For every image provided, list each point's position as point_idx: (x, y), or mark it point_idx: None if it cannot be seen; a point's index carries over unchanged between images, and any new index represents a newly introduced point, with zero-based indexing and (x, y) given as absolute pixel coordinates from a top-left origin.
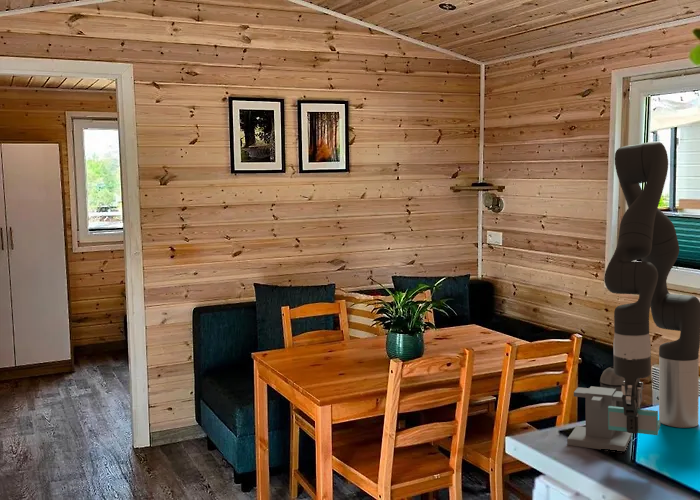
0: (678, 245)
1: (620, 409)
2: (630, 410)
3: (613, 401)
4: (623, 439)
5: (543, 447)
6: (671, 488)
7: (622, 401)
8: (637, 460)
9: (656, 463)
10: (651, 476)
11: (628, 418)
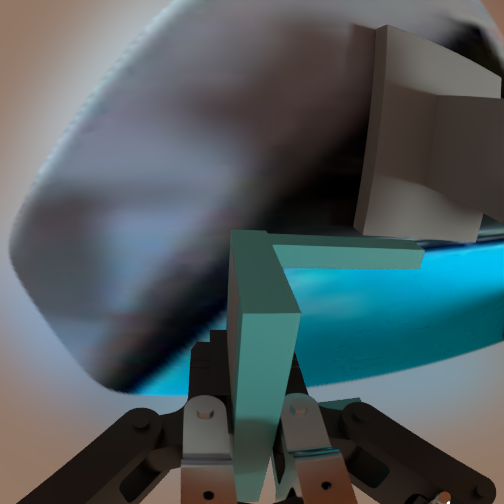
0: None
1: (235, 393)
2: (144, 461)
3: None
4: (426, 224)
5: None
6: (107, 359)
7: None
8: (291, 270)
9: None
10: (163, 317)
11: (189, 397)
